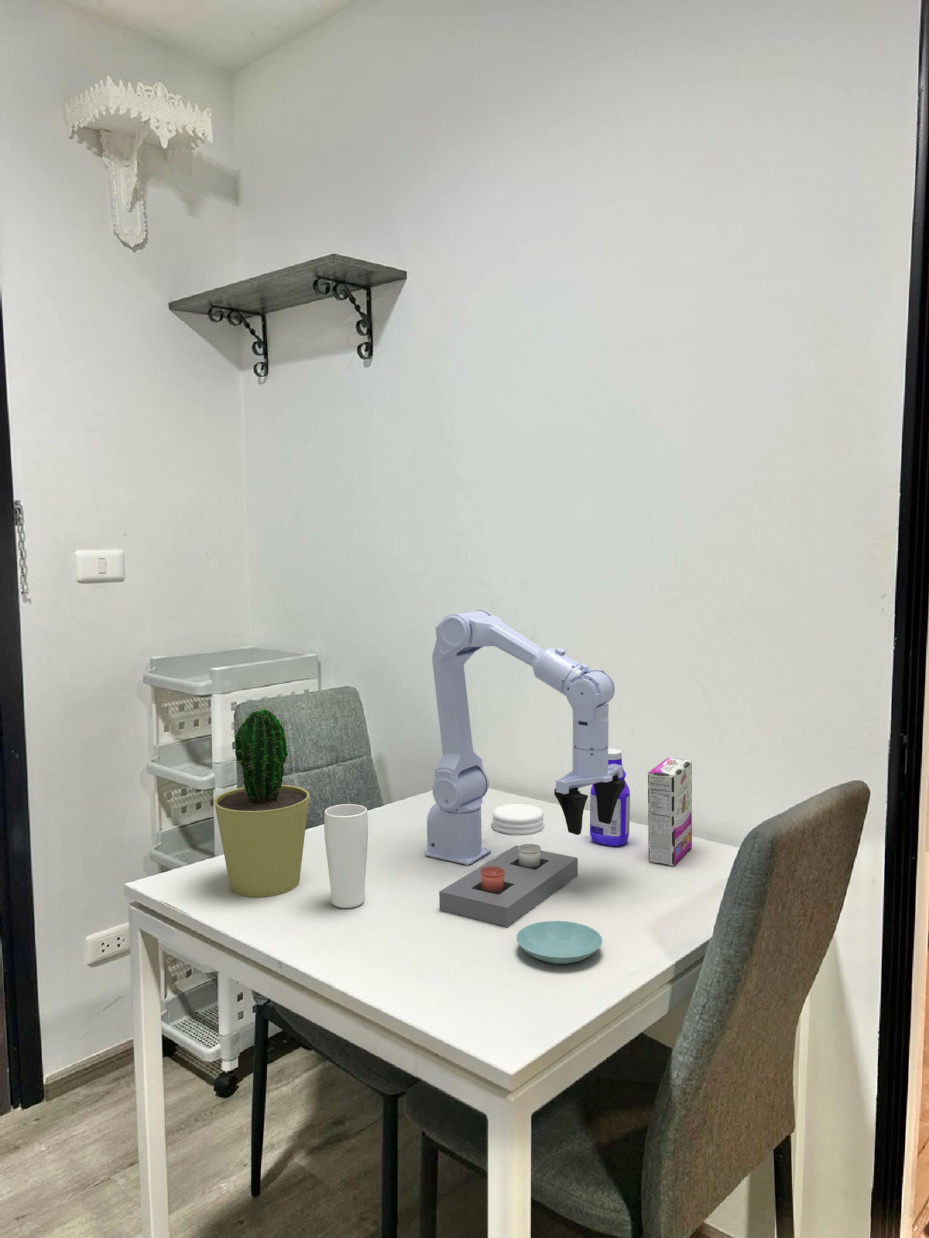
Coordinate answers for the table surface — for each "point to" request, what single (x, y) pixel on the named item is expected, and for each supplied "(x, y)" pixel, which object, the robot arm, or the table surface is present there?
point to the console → (508, 888)
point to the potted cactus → (262, 813)
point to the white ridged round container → (517, 819)
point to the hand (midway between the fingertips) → (589, 827)
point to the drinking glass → (346, 853)
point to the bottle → (621, 817)
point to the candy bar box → (670, 811)
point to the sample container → (529, 855)
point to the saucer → (559, 941)
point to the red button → (492, 878)
